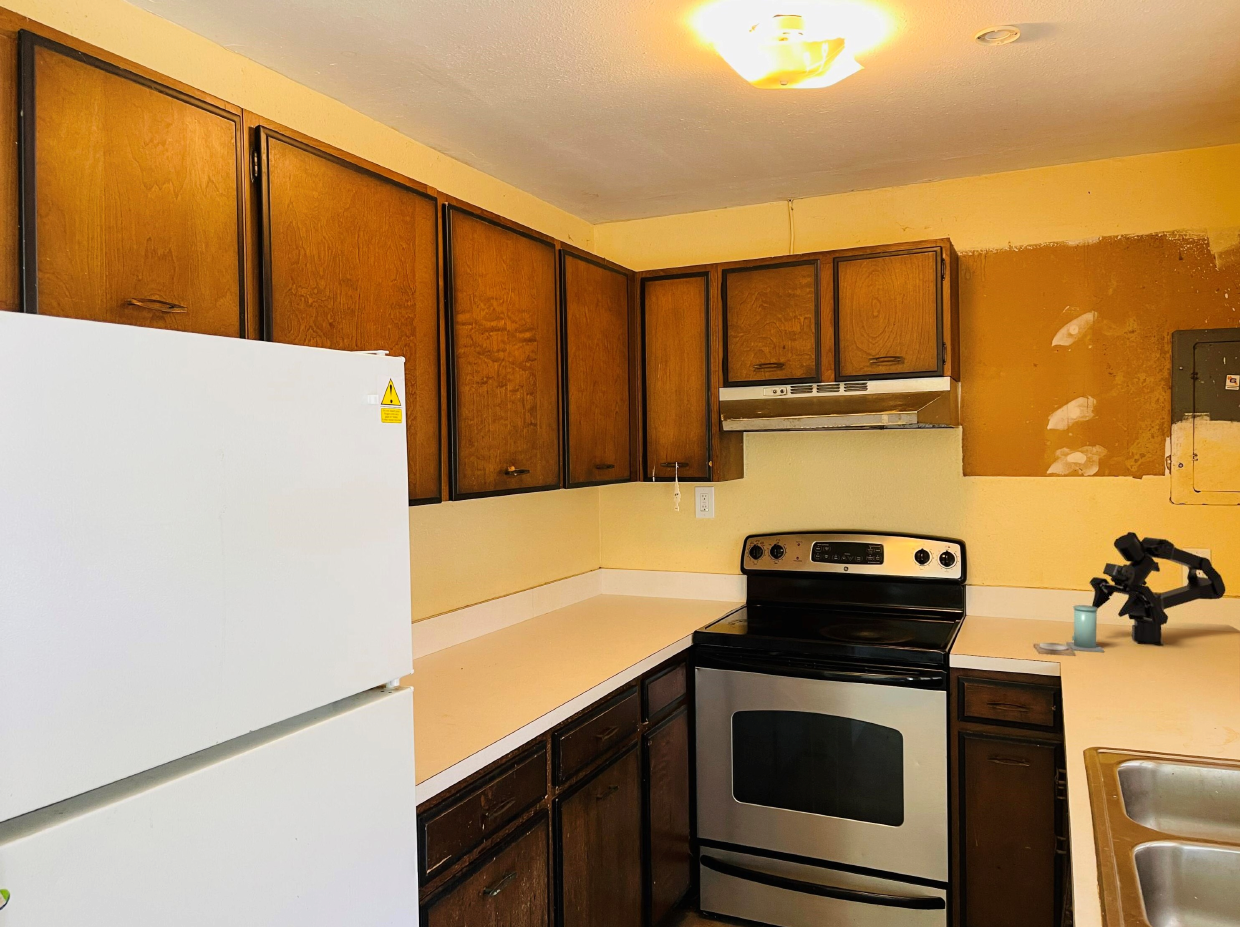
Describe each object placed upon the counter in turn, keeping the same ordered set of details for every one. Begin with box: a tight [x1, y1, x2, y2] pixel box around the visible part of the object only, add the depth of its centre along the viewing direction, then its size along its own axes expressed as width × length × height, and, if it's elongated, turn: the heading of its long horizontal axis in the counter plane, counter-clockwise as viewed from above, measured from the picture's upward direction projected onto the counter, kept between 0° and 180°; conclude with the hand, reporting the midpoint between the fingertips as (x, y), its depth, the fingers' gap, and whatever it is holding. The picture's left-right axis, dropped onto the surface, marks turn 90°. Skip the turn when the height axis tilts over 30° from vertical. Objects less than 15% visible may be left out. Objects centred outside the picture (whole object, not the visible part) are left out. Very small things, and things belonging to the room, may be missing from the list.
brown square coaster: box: [1033, 642, 1076, 657], centre depth 248 cm, size 9×9×2 cm
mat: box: [1065, 641, 1105, 653], centre depth 252 cm, size 8×8×1 cm
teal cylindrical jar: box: [1071, 604, 1098, 648], centre depth 251 cm, size 6×6×11 cm
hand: (1105, 612), depth 254 cm, fingers open, 9 cm apart
